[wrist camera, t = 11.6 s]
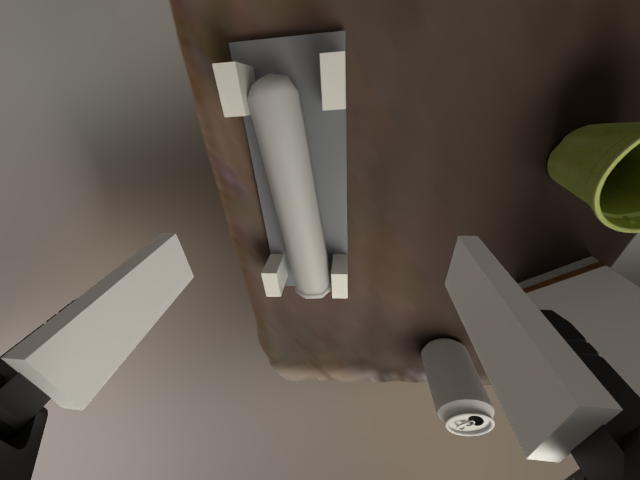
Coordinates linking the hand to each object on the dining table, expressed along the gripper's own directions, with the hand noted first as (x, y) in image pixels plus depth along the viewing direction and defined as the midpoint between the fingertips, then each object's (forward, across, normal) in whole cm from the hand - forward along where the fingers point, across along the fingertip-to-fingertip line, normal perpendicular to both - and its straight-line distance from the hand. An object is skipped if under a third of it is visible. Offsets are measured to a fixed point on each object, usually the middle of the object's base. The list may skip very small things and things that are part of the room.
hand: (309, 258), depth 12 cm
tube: (+19, -4, -4) cm, 20 cm away
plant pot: (+20, +26, -1) cm, 33 cm away
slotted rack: (+20, -4, -4) cm, 21 cm away
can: (+20, +18, -34) cm, 43 cm away
